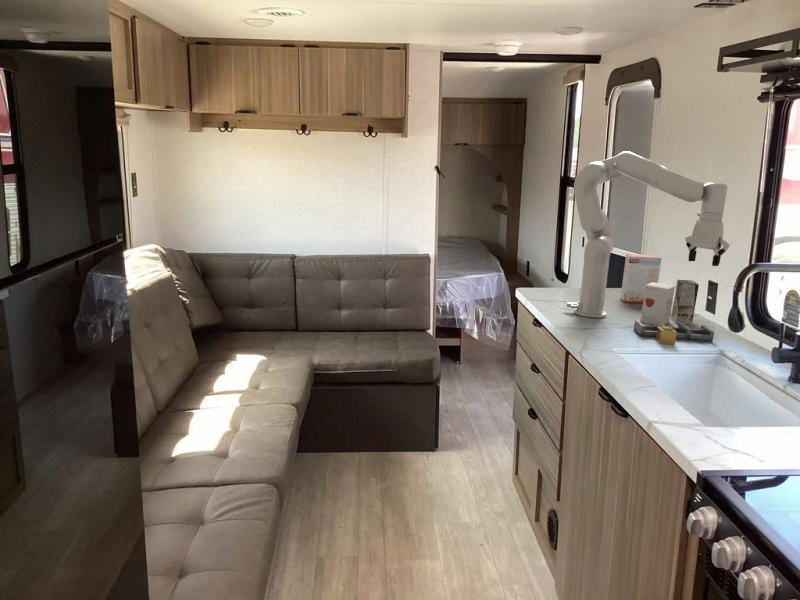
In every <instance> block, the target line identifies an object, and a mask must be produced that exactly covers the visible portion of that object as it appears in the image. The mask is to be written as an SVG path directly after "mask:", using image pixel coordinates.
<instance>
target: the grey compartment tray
mask: <svg viewBox="0 0 800 600" xmlns="http://www.w3.org/2000/svg"><path fill="white" fill-rule="evenodd" d="M661 326H666V325H664V324H663V323H662V322H659V321H657V322H656V325H648V324H647V325H646V324H643V322H640V319H634V325H633V331H634V332H635V333H636V334H637V335H638V337H641V338H649V339H650V338H651V339H656V332H657V327H661ZM670 327H671V326H670ZM671 328H673V329H674V330H675V331H676V332H677V333H676V339H675V341H686V342H687V341H689V342H698V343H699V342H701V343H713V339H714V337H715V336H714V334H715V331H714V330H712V329H711V328H710V327H708V326H707V325H705V324H701V325H700V329H699V328H690V327H689V326H687V324H683V323H678V325H677V327H675V326H672V327H671Z"/></svg>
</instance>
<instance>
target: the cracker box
mask: <svg viewBox="0 0 800 600" xmlns="http://www.w3.org/2000/svg"><path fill="white" fill-rule="evenodd" d="M661 264H662V257H660V256H658V255H648V254H625V262H624V267H623V268H624V270H623V277H622V284H621V285H622V286H621V292H620V300H621V301H622V302H623V303H632V304H633V303H634V304H637V303H638V304H643V300H644V294H645V287H646V285H647V284H649V283H651V282H655V283H659V280H660V279H659V278H660V272H661V267H662V266H661Z"/></svg>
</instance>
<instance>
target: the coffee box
mask: <svg viewBox="0 0 800 600" xmlns="http://www.w3.org/2000/svg"><path fill="white" fill-rule="evenodd" d="M699 287H700V285H699V283H697V282H696V281H694V280H691V279H688V280H687V279H676V285H675V290H674V296H673V303H672V305H673V306H672V310H671V311H672V313H671V316H670V317H671V319H672V320H673V321H674V322H675V324H679V323H683V324H685V325H689V326H690V325H693V321H694V315H695V309H696V303H697V297H698V293H699Z"/></svg>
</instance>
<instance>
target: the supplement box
mask: <svg viewBox="0 0 800 600" xmlns="http://www.w3.org/2000/svg"><path fill="white" fill-rule="evenodd" d="M675 290H676V285H671V284H666V283H660V282H658V283H655V282H651V283H649V284H647V285H646V287H645V294H644V300H643V303H642V307H641V313H640V319H639V321H640V322H641V323H645V324H650V325H653V326H656V322H657V321H659V322H662V323H663V324H664V325H665V326H666V325H668V323H670V317H671V314H672V313H671V311H672V308H673V306H672V305H673V302H674V296H675Z"/></svg>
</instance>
